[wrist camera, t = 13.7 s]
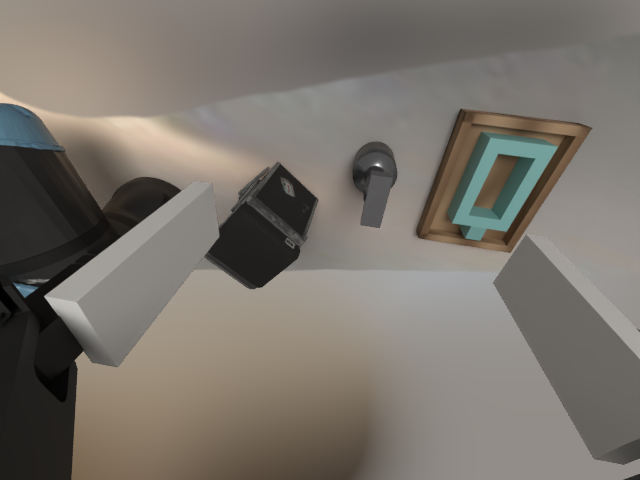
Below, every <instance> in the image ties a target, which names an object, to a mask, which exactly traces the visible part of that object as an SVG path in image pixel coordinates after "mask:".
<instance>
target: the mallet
mask: <svg viewBox="0 0 640 480" xmlns="http://www.w3.org/2000/svg"><path fill="white" fill-rule="evenodd" d="M396 179H397V168H396V163H395V159H394V155H393V152H392V150H391V149H390V148H389V147H388V146H387V145H386V144H384V143H381V142H370V143H368V144H365V145H364V146H363V147H361V148H360V149H359V151H358V152H357V154H356V157H355V163H354V170H353V180H354V183H355V185H356V187H357V188H358V189H359V190H360V191H361V192H363V193H364V207H363V212H362V216H361V225H363V226H370V227H376V228H380V226H381V222H382V218H383V214H384V211H385V207H386V203H387V199H388V196H389V192H390V189H391V188H392V187H393V185H394V184H395V182H396Z"/></svg>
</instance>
